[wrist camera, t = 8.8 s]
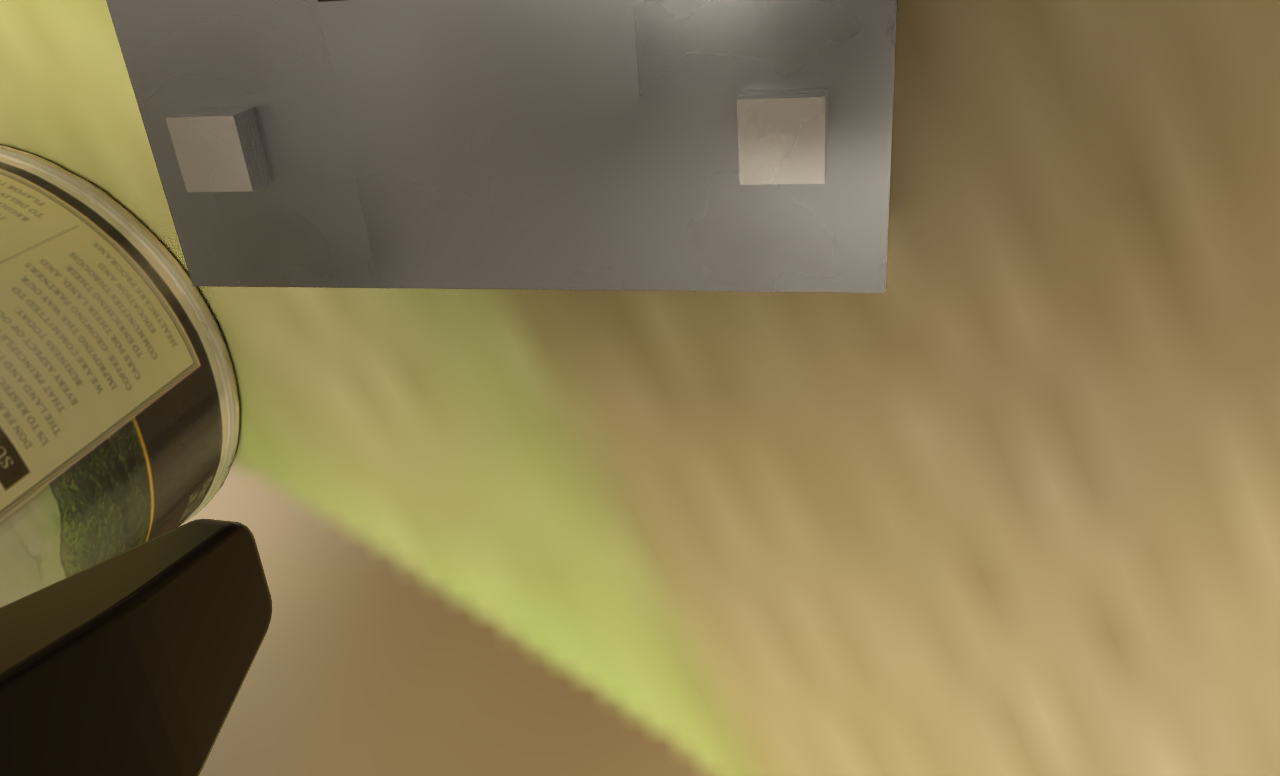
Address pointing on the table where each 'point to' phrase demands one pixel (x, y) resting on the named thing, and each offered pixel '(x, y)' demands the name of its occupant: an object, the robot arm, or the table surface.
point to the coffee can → (98, 381)
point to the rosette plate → (521, 141)
